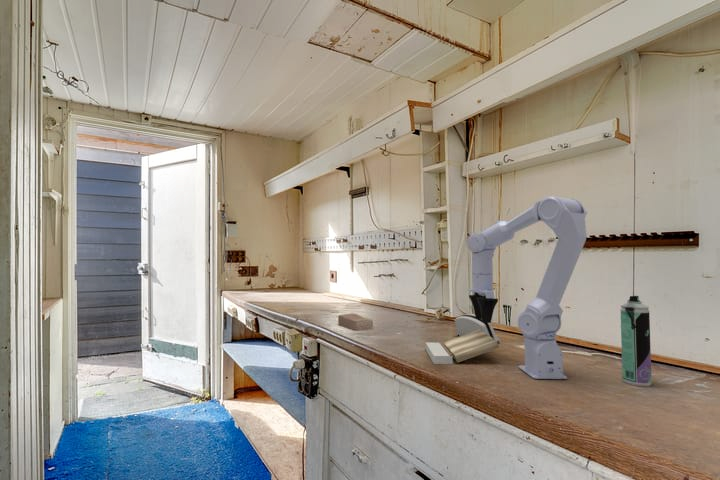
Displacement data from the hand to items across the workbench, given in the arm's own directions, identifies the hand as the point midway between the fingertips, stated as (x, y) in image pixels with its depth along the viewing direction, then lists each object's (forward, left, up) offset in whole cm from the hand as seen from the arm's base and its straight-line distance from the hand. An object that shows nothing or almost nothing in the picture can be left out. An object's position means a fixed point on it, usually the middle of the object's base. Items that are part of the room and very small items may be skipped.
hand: (483, 320), depth 112 cm
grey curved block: (+23, -4, -11) cm, 26 cm away
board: (0, +13, -10) cm, 17 cm away
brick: (+46, +39, -11) cm, 61 cm away
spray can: (-22, -29, -11) cm, 38 cm away
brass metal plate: (0, +4, -8) cm, 9 cm away
